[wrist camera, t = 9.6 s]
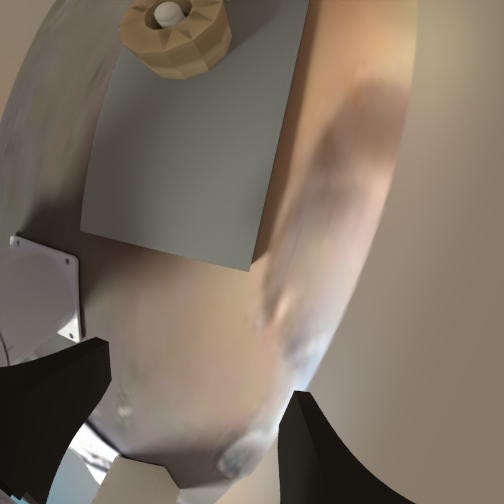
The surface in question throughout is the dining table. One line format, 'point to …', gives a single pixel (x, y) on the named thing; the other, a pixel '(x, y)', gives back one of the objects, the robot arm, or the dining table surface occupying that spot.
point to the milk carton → (136, 484)
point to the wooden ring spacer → (177, 37)
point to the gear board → (195, 141)
